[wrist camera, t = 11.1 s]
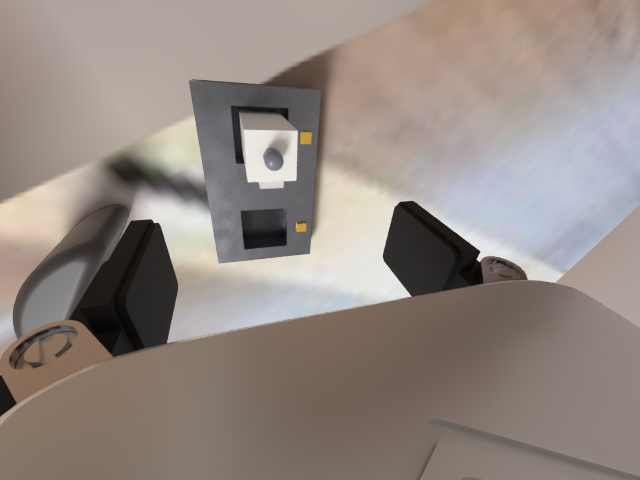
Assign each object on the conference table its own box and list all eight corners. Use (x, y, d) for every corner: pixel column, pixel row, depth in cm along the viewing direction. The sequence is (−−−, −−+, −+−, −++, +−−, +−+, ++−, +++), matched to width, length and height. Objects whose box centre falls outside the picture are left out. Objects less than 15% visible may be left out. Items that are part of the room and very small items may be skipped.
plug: (238, 109, 27) (244, 133, 18) (277, 111, 28) (301, 134, 19) (242, 156, 30) (249, 197, 21) (278, 156, 31) (299, 195, 22)
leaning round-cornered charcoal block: (84, 185, 27) (30, 232, 20) (135, 204, 30) (104, 253, 22) (46, 295, 32) (-9, 366, 25) (92, 304, 35) (55, 371, 27)
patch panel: (192, 79, 25) (188, 81, 23) (314, 88, 28) (322, 90, 26) (219, 252, 36) (218, 264, 33) (305, 243, 39) (310, 254, 37)
